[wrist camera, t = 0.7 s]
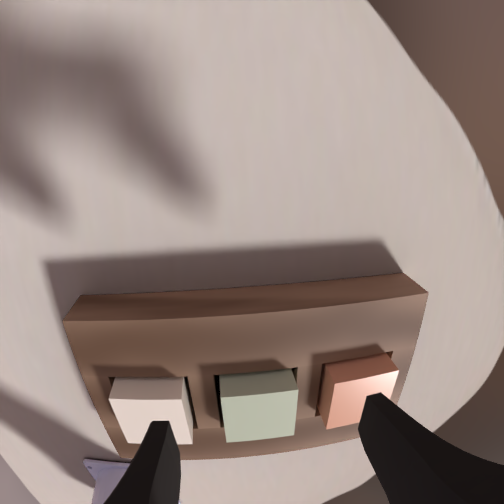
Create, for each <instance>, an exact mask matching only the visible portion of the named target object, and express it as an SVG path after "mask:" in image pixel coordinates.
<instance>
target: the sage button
mask: <svg viewBox="0 0 504 504" xmlns="http://www.w3.org/2000/svg"><path fill="white" fill-rule="evenodd" d="M219 380H220V396H221V405H222V413H223V420H224V428H225V435H226V442H240V441H251V440H261V439H269V438H277V437H285V436H291V435H294V431H295V421H296V411H297V400H298V387H297V384H296V381H295V378H294V375H293V372H292V369H291V368H286V369H278V370H269V371H259V372H248V373H236V374H222V375H219Z"/></svg>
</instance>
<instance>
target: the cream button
mask: <svg viewBox="0 0 504 504" xmlns="http://www.w3.org/2000/svg"><path fill="white" fill-rule="evenodd" d="M109 401H110V404H111V406H112V408H113V411H114V413H115V415H116V418H117V420H118V422H119V425H120V427H121V429H122V431H123V433H124V436H125V438H126V440H127V442H128V443H136V444H141V443H142V440H143V438H144V436H145V434H146V432H147V430H148V427H149V425H150V423H151V422H152V421H169V422H170V425H171V428H172V431H173V434H174V437H175V439H176V442H177V444H193V406H192V401H191V396H190V392H189V386H188V381H187V376H184V377H115V380H114V383H113V386H112V389H111V392H110V395H109Z"/></svg>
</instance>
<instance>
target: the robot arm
mask: <svg viewBox="0 0 504 504" xmlns="http://www.w3.org/2000/svg"><path fill="white" fill-rule="evenodd" d="M358 432H359V435H360V438H361V441H362V444H363V447H364V450H365V452H366V454H367V456H368V459H369V461H370V463H371V465H372V467H373V469H374V471H375V473H376V475H377V477H378V479H379V481H380V483H381V485H382V487H383V489H384V491H385V492H386V495H387V497H388V500H389V503H390V504H504V465H500V464H497V463H494V462H490V461H487V460H485V459H482V458H479V457H477V456H474V455H472V454H470V453H467V452H465V451H463V450H461V449H459V448H457V447H455V446H453V445H452V444H450V443H448V442H446V441H445V440H443V439H441V438H440V437H438V436H437V435H435V434H434V433H432V432H431V431H429V430H428V429H426V428H425V427H424V426H422V425H421V424H420V423H418V422H417V421H416V420H414V419H413V418H412V417H410V416H409V415H408V414H407V413H405V412H404V411H403V410H402V409H401V408H399V407H398V406H397V405H396V404H395V403H393V402H392V401H391V400H390V399H389V398H387V397H386V396H385V395H384V394H382V393H381V392H380V393H376V394H372V395H368V396H366V400H365V404H364V408H363V411H362V415H361V419H360V422H359V426H358ZM83 464H84V465H85V467H86V468H87V470H88V471H89V472H90V474H91V475H92V477H93V478H94V479H95V481H96V484H95V489H94V494H93V499H92V504H181V503H180V501H179V493H180V480H181V464H180V451H179V448H178V445H177V442H176V439H175V437H174V434H173V431H172V428H171V425H170V422H169V421H152V422H151V423H150V425H149V427H148V430H147V432H146V434H145V436H144V438H143V440H142V443H141V445H140V446H139V448H138V450H137V452H136V454H135V456H134V458H133V460H132V461H131V463H119V462H108V461H99V460H91V459H84V461H83Z"/></svg>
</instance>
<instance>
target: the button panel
mask: <svg viewBox="0 0 504 504" xmlns="http://www.w3.org/2000/svg"><path fill="white" fill-rule="evenodd" d="M427 298H428V292H427V291H426V290H425V289H423V288H422V287H421V286H420V285H418V284H417V283H416V282H415V281H413V280H412V279H411V278H410V277H408V276H407V275H406V274H404V273H396V274H387V275H377V276H367V277H358V278H347V279H337V280H326V281H315V282H303V283H291V284H279V285H266V286H252V287H238V288H224V289H208V290H191V291H173V292H154V293H132V294H107V295H81V296H80V297H79V298H78V300H77V301H76V302H75V304H74V305H73V307H72V308H71V309H70V311H69V312H68V314H67V315H66V317H65V318H64V319H63V324H64V328H65V331H66V334H67V337H68V340H69V343H70V345H71V348H72V351H73V354H74V357H75V359H76V362H77V365H78V367H79V370H80V372H81V375H82V377H83V380H84V382H85V385H86V387H87V390H88V392H89V394H90V397H91V399H92V401H93V403H94V406H95V408H96V410H97V412H98V414H99V416H100V419H101V421H102V423H103V425H104V427H105V429H106V431H107V433H108V435H109V437H110V439H111V441H112V443H113V445H114V447H115V448H116V450H117V452H118V454H119V456H120V458H134V456H135V454H136V452H137V450H138V448H139V446H140V445H141V444H136V443H128V442H127V440H126V438H125V436H124V433H123V431H122V429H121V427H120V425H119V422H118V420H117V418H116V415H115V413H114V411H113V408H112V406H111V404H110V401H109V395H110V392H111V389H112V386H113V383H114V380H115V377H184V376H188V381H189V387H190V392H191V401H192V406H193V444H177V445H178V448H179V451H180V460H201V459H222V458H237V457H248V456H258V455H267V454H275V453H282V452H289V451H295V450H301V449H307V448H313V447H318V446H323V445H328V444H333V443H338V442H342V441H347V440H351V439H355V438H359V437H360V435H359V432H358V426H359V423H354V424H350V425H346V426H341V427H336V428H331V429H326V428H325V425H324V423H323V420H322V418H321V415H320V413H319V410H318V407H317V398H318V391H319V384H320V377H321V369H322V364H323V363H329V362H336V361H342V360H348V359H353V358H359V357H364V356H370V355H375V354H380V353H385V352H386V353H387V355H388V356H389V357H390V359H391V360H392V361H393V363H394V364H395V365H396V367H397V368H398V369H399V372H398V376H397V379H396V382H395V385H394V389H393V392H392V395H391V398H390V400H391V401H392V402H393V403H395V404H396V405H397V403H398V400H399V397H400V394H401V391H402V389H403V386H404V383H405V380H406V376H407V373H408V370H409V367H410V364H411V360H412V357H413V353H414V350H415V346H416V343H417V339H418V335H419V332H420V328H421V324H422V320H423V315H424V311H425V307H426V302H427ZM286 368H291V369H292V372H293V375H294V378H295V381H296V384H297V387H298V400H297V411H296V421H295V431H294V435H291V436H285V437H277V438H269V439H261V440H251V441H240V442H226V435H225V428H224V420H223V413H222V405H221V396H219V395H218V387H217V379H216V375H222V374H236V373H248V372H259V371H269V370H278V369H286Z"/></svg>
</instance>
